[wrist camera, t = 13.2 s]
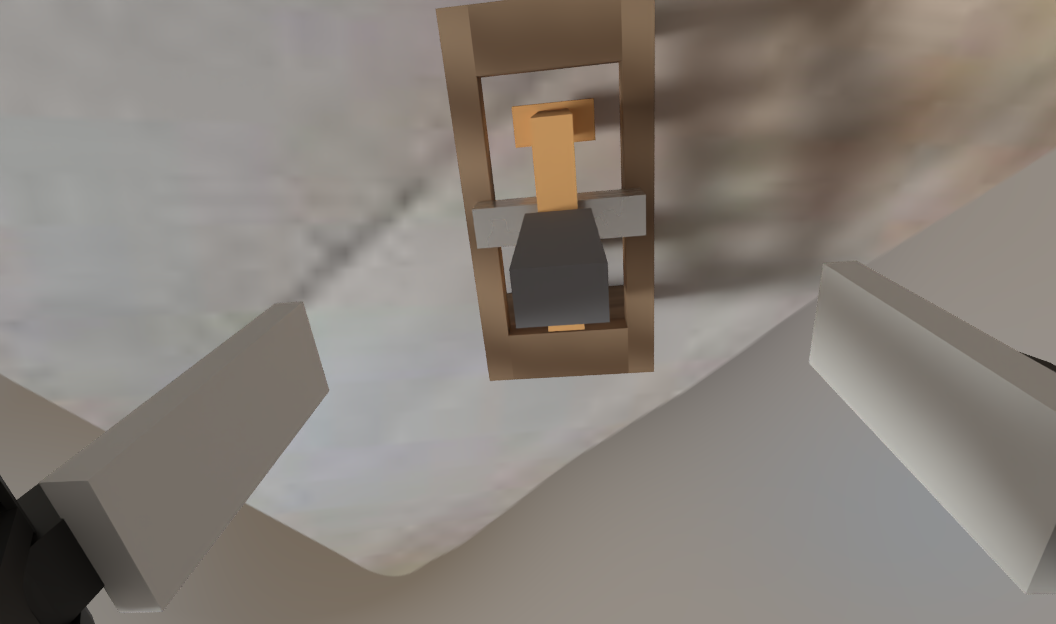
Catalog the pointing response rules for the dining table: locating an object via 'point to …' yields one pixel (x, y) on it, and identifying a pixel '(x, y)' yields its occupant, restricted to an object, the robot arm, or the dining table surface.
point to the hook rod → (610, 208)
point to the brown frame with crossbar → (628, 38)
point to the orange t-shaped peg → (557, 225)
